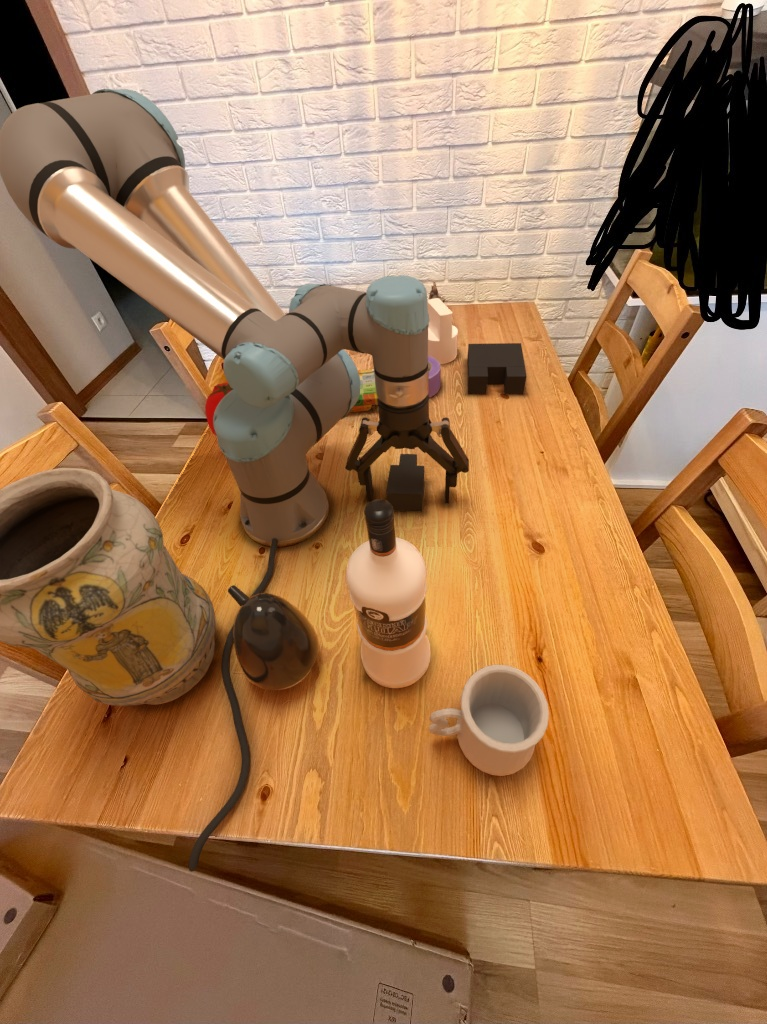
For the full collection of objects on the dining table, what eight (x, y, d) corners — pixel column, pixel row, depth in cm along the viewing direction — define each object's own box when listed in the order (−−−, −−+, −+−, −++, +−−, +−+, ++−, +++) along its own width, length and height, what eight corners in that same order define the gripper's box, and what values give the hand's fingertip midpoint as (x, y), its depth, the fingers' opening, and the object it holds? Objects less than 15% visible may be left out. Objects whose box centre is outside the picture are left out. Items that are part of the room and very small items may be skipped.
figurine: (422, 335, 121) (421, 289, 112) (426, 323, 125) (426, 277, 116) (446, 336, 120) (447, 289, 111) (450, 324, 124) (451, 278, 115)
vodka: (441, 642, 63) (448, 489, 41) (411, 704, 58) (401, 566, 36) (382, 615, 67) (359, 460, 44) (349, 671, 61) (304, 527, 39)
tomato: (235, 467, 91) (211, 412, 81) (208, 439, 98) (184, 384, 88) (284, 441, 95) (268, 385, 86) (256, 415, 102) (238, 361, 92)
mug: (523, 694, 58) (537, 660, 50) (542, 775, 52) (561, 750, 44) (425, 700, 58) (424, 667, 51) (432, 781, 52) (433, 757, 45)
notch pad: (523, 394, 100) (526, 376, 97) (467, 394, 102) (469, 376, 99) (518, 360, 110) (521, 343, 106) (467, 361, 111) (468, 343, 108)
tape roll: (385, 376, 109) (383, 357, 105) (433, 369, 110) (433, 350, 106) (393, 405, 101) (392, 385, 97) (445, 397, 102) (446, 377, 98)
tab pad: (422, 512, 79) (422, 494, 76) (387, 510, 80) (386, 492, 77) (425, 472, 86) (425, 454, 83) (393, 471, 87) (392, 453, 84)
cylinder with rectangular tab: (415, 350, 116) (414, 302, 107) (448, 342, 118) (450, 295, 109) (428, 367, 110) (428, 318, 101) (462, 359, 112) (465, 310, 103)
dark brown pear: (287, 615, 68) (259, 553, 56) (338, 656, 63) (319, 597, 52) (232, 668, 63) (190, 612, 52) (283, 717, 58) (249, 667, 47)
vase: (114, 757, 56) (-91, 647, 34) (89, 645, 67) (-80, 506, 45) (250, 674, 62) (151, 534, 40) (208, 583, 73) (110, 432, 50)
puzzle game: (294, 373, 104) (382, 364, 104) (298, 391, 107) (384, 382, 107) (291, 403, 96) (386, 393, 96) (296, 421, 100) (387, 412, 99)
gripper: (313, 410, 65) (336, 510, 81) (492, 410, 62) (480, 514, 78) (323, 381, 70) (343, 480, 86) (490, 380, 67) (479, 483, 83)
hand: (408, 497), depth 82 cm, fingers open, 13 cm apart
